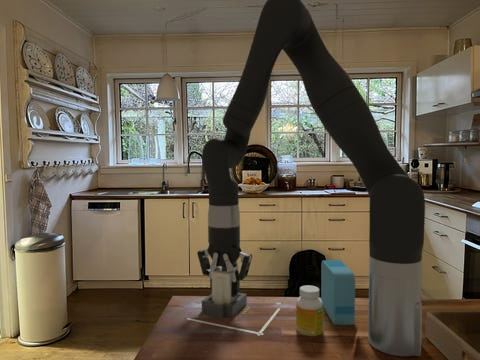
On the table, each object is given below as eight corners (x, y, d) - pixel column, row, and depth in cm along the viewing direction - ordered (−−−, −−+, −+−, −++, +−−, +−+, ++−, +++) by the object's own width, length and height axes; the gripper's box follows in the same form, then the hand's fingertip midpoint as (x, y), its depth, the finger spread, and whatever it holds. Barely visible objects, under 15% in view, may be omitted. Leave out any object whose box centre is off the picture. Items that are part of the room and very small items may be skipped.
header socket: (253, 305, 85) (253, 295, 85) (237, 321, 76) (237, 310, 76) (217, 299, 89) (217, 289, 89) (198, 313, 80) (198, 302, 80)
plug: (237, 301, 85) (237, 262, 84) (227, 310, 80) (226, 269, 79) (220, 298, 86) (220, 260, 86) (210, 307, 81) (209, 266, 81)
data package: (354, 329, 74) (355, 274, 74) (333, 329, 74) (334, 274, 74) (339, 306, 86) (339, 258, 86) (321, 306, 86) (321, 258, 86)
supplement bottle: (321, 343, 69) (321, 294, 68) (293, 338, 71) (293, 291, 70) (324, 330, 74) (324, 285, 73) (298, 326, 76) (299, 282, 75)
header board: (282, 313, 82) (282, 308, 82) (261, 341, 70) (261, 336, 70) (215, 301, 90) (215, 297, 90) (185, 324, 77) (185, 320, 77)
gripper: (257, 222, 83) (258, 293, 84) (205, 219, 89) (206, 285, 90) (245, 228, 76) (246, 305, 77) (189, 224, 82) (190, 295, 83)
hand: (224, 294), depth 83 cm, fingers closed on plug, 4 cm apart
